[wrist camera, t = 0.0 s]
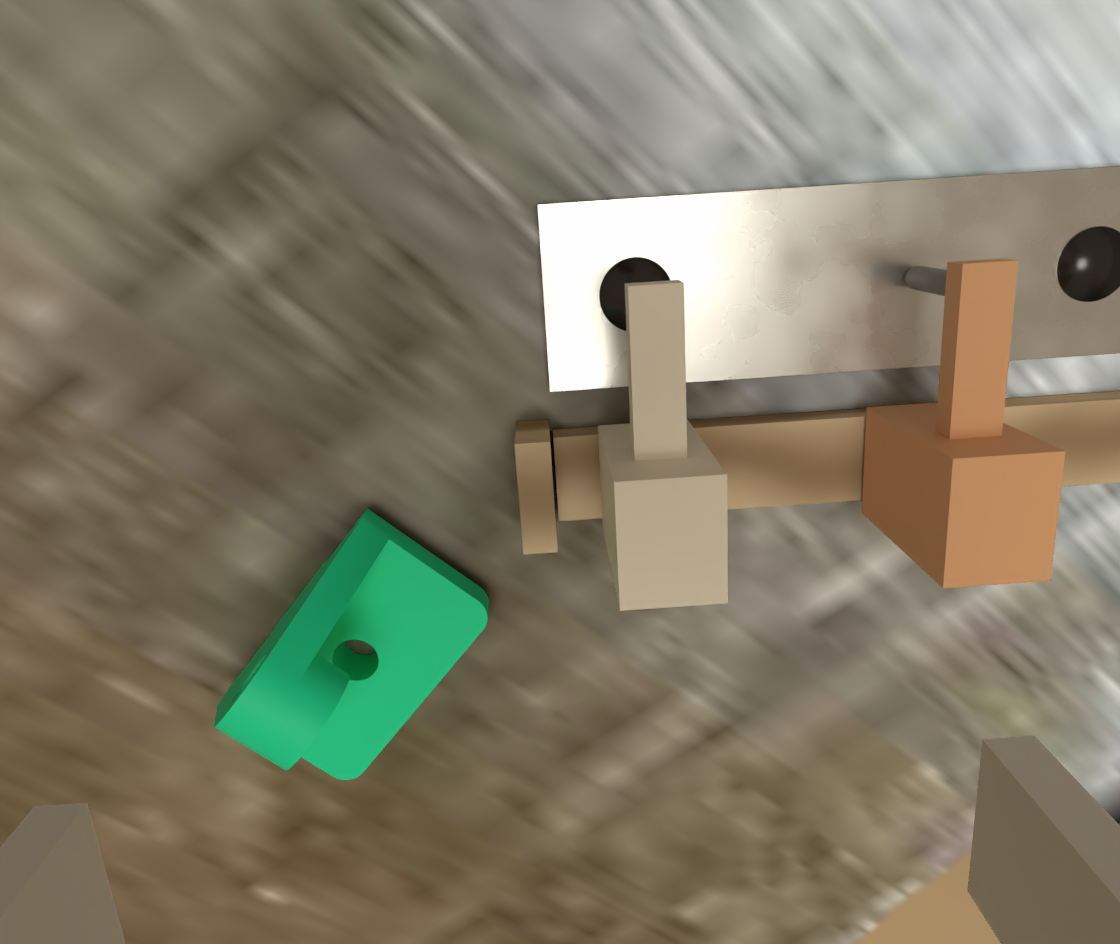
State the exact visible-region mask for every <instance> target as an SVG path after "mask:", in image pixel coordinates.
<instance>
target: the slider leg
mask: <svg viewBox="0 0 1120 944" xmlns="http://www.w3.org/2000/svg"><path fill="white" fill-rule="evenodd" d="M1017 270H1018V260H1011V259H1002V258H999V259H984V260H969V261H954V262H947V270H945V269H938V268H931V267H924V266H914V267H912V268H911V269H910V270H909V271H908V272H907V274H906V277H905V281H906V284H907V286H908V287H909V288H911V289H914V290H918V291H923V292H928V293H933V294H937V295H942V296H945V302H944V316H943V330H942V344H941V359H940V373H939V387H938V401H937V402H936V403H921V404H907V405H892V406H877V407H867V409H866V431H865V453H864V475H863V497H862V513H863V514H864V515H865V516H866V517H867V518H868V519H869V520H870V521H871V522H872V523H873V524H874V525H876V526H877V527H878V528H879V529H880V530H881V531H882V532H883V533H884V534H885V535H886V536H887V537H888V538H890V539H891V540H892V541H893V542H894V543H895V544H896V545H897V546H898V547H899V548H900V549H901V550H902V551H904V552H905V553H906V554H907V555H908V556H909V557H910V558H911V559H912V560H913V561H914V562H915V563H916V564H918V565H919V566H920V567H921V568H922V569H923V570H924V571H925V572H926V573H927V574H928V575H929V576H930V577H932V578H933V579H934V580H935V581H936V582H937V583H938V584H939V585H940V586H941V587H942V588H953V587H967V586H982V585H996V584H1011V583H1025V582H1039V581H1050V579H1051V571H1052V562H1053V554H1054V545H1055V537H1056V528H1057V520H1058V511H1059V503H1060V494H1061V486H1062V477H1063V469H1064V460H1065V452H1066V451H1064V450H1062V449H1060V448H1057V447H1055V446H1053V445H1051V444H1049V443H1047V442H1044V441H1042V440H1040V439H1038V438H1036V437H1033V436H1031V435H1029V434H1027V433H1025V432H1022V431H1020V430H1018V429H1016V428H1014V427H1011V426H1009V425H1007V424H1005V423H1003V418H1004V408H1005V397H1006V387H1007V376H1008V366H1009V355H1010V344H1011V334H1012V323H1013V313H1014V302H1015V291H1016V281H1017Z"/></svg>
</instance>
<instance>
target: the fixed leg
mask: <svg viewBox="0 0 1120 944" xmlns="http://www.w3.org/2000/svg"><path fill="white" fill-rule="evenodd" d="M625 307H626V332H627V357H628V383H629V408H630V423H627V424H612V425H598V443H599V462H600V482H601V501H602V521H603V533H604V538H605V542H606V547H607V552H608V557H609V561H610V566H611V571H612V576H613V580H614V585H615V590H616V595H617V599H618V604H619V609H620V611H623V610H637V609H652V608H666V607H680V606H695V605H709V604H724V603H728V535H727V473H726V472H725V471H724V469H723V468H722V466H721V465H720V464H719V462H718V461H717V460H716V458H715V457H714V455H713V454H712V453H711V451H710V450H709V449H708V447H707V446H706V444H705V443H704V442H703V440H702V439H701V437H700V436H699V435H698V433H697V432H696V431H695V429H694V428H693V426H692V425H691V424H690V422H689V421H688V420H687V417H686V365H685V313H684V282H682V281H680V280H669V281H654V282H639V283H625Z"/></svg>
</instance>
